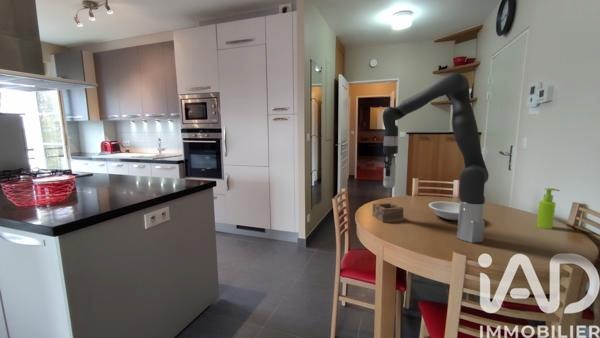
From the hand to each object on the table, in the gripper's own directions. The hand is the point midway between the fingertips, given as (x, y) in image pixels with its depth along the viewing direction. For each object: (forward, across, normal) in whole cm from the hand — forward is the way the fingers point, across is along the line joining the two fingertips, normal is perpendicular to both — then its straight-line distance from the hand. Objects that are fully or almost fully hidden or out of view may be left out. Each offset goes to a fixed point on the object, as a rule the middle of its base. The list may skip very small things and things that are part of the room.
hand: (389, 175), depth 146 cm
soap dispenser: (+25, +29, -71) cm, 81 cm away
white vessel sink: (+25, +19, -30) cm, 43 cm away
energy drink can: (+7, 0, 0) cm, 7 cm away
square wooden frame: (+24, 0, 0) cm, 24 cm away
